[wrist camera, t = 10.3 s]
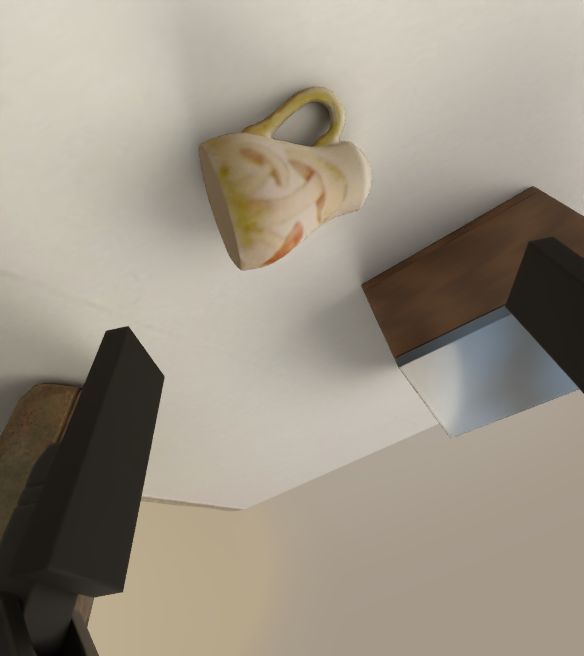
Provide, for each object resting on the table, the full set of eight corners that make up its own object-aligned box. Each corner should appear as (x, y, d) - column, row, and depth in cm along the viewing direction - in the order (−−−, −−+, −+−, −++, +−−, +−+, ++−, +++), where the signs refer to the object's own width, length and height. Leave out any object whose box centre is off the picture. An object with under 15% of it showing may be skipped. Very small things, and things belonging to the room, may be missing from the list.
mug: (368, 209, 24) (329, 318, 19) (245, 181, 26) (180, 274, 21) (395, 93, 18) (348, 211, 13) (229, 66, 20) (132, 161, 15)
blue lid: (649, 234, 18) (662, 242, 18) (629, 359, 27) (638, 367, 26) (394, 358, 23) (398, 367, 22) (446, 431, 31) (451, 439, 31)
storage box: (533, 185, 24) (630, 243, 18) (547, 299, 33) (617, 364, 27) (360, 285, 29) (393, 357, 23) (412, 362, 37) (446, 430, 31)
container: (123, 479, 48) (32, 870, 26) (39, 475, 44) (-147, 925, 22) (143, 383, 34) (-14, 1035, 12) (24, 366, 30) (-484, 1237, 9)
